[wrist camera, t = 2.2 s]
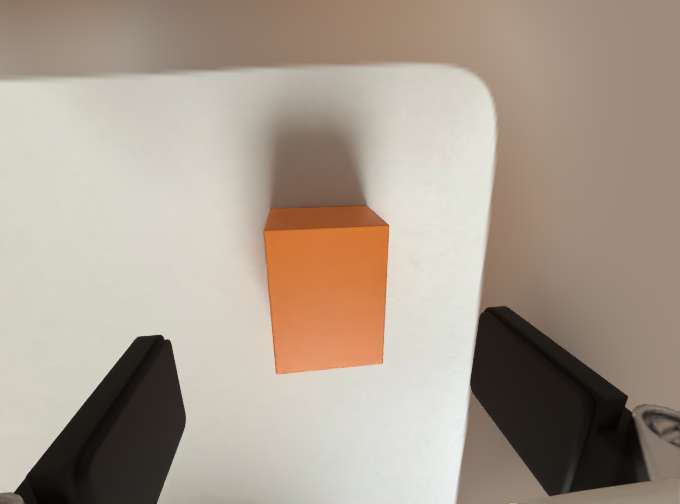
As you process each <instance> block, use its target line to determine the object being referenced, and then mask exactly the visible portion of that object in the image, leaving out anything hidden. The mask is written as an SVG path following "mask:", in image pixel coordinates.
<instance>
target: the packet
mask: <svg viewBox="0 0 680 504" xmlns="http://www.w3.org/2000/svg"><path fill="white" fill-rule="evenodd" d="M388 239H389V225H388V224H387V223H386V222H385V221H384V220H383V219H382V218H380V217H379V216H378V215H377V214H376V213H375V212H374V211H372V210H371V209H370V208H369V207H368V206H337V207H308V208H278V209H270V212H269V215H268V218H267V222H266V225H265V228H264V241H265V252H266V264H267V275H268V287H269V298H270V310H271V321H272V333H273V344H274V356H275V367H276V374H284V373H294V372H304V371H314V370H324V369H334V368H344V367H354V366H364V365H374V364H382V363H383V345H384V324H385V303H386V282H387V260H388Z"/></svg>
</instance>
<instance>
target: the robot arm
mask: <svg viewBox="0 0 680 504" xmlns="http://www.w3.org/2000/svg"><path fill="white" fill-rule="evenodd" d="M470 386H471V390H472V392H473V394H474V395H475V397H476V398H477V399H478V401H479V402H480V403H481V405H482V406H483V407H484V409H485V410H486V412H487V413H488V414H489V416H490V417H491V418H492V420H493V421H494V422H495V423H496V425H497V426H498V428H499V429H500V430H501V432H502V433H503V435H504V436H505V437H506V438H507V440H508V441H509V442H510V444H511V445H512V447H513V448H514V449H515V451H516V452H517V453H518V455H519V456H520V457H521V459H522V460H523V462H524V463H525V464H526V466H527V467H528V468H529V470H530V471H531V472H532V474H533V475H534V476H535V478H536V479H537V480H538V482H539V483H540V485H541V486H542V487H543V489H544V490H545V491H546V492H547V494H548V495H549V497H544V498H537V499H531V500H525V501H519V502H513V503H507V504H680V412H678V411H675V410H672V409H670V408H667V407H662V406H658V405H648V404H643V405H639V406H636V407H635V409H633V412H631V411H629V410H628V409H627V408H626V407H625V404H626V401H627V398H628V396H627V395H625V394H624V393H623V392H621V391H620V390H619V389H617V388H616V387H615V386H613V385H612V384H611V383H609V382H608V381H607V380H605V379H604V378H603V377H601V376H600V375H598V374H597V373H596V372H594V371H593V370H592V369H590V368H589V367H587V366H586V365H585V364H584V363H582V362H581V361H580V360H578V359H577V358H576V357H574V356H573V355H571V354H570V353H569V352H568V351H566V350H565V349H563V348H562V347H561V346H559V345H558V344H557V343H555V342H554V341H553V340H551V339H550V338H549V337H547V336H546V335H545V334H543V333H542V332H540V331H539V330H538V329H536V328H535V327H534V326H532V325H531V324H530V323H528V322H527V321H526V320H524V319H523V318H522V317H520V316H519V315H517V314H516V313H515V312H513V311H512V310H511V309H510V308H508V307H506V306H501V307H489V308H486V309H485V311H484V312H483V313H481V315H480V318H479V325H478V332H477V338H476V345H475V352H474V359H473V366H472V373H471V380H470ZM185 423H186V415H185V409H184V404H183V399H182V394H181V390H180V385H179V380H178V375H177V370H176V365H175V360H174V355H173V350H172V345H171V342H170V340H168V339H167V340H164V338H163V336H162V335H152V336H140V337H137V338H136V339H135V340H134V342H133V343H132V344H131V345H130V347H129V348H128V349H127V350H126V352H125V353H124V354H123V355H122V357H121V358H120V359H119V360H118V362H117V363H116V364H115V365H114V367H113V368H112V369H111V370H110V372H109V373H108V374H107V375H106V377H105V378H104V379H103V380H102V382H101V383H100V384H99V385H98V387H97V388H96V389H95V390H94V392H93V393H92V394H91V396H90V397H89V398H88V399H87V401H86V402H85V403H84V404H83V406H82V407H81V408H80V409H79V411H78V412H77V413H76V414H75V416H74V417H73V418H72V419H71V421H70V422H69V423H68V424H67V426H66V427H65V428H64V429H63V431H62V432H61V433H60V434H59V436H58V437H57V438H56V439H55V441H54V442H53V443H52V444H51V446H50V447H49V448H48V449H47V451H46V452H45V453H44V454H43V456H42V457H41V458H40V459H39V461H38V462H37V463H36V465H35V466H34V467H33V468H32V470H31V471H30V472H29V473H28V475H27V476H26V478H25V479H24V481H23V482H22V483H21V484H20V486H19V487H18V488H17V489H16V491H15V492H14V493H11V492H9V493H0V504H157V501H158V499H159V496H160V493H161V491H162V488H163V485H164V482H165V480H166V477H167V474H168V472H169V469H170V466H171V464H172V461H173V458H174V456H175V453H176V450H177V447H178V445H179V442H180V439H181V437H182V434H183V431H184V428H185Z"/></svg>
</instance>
